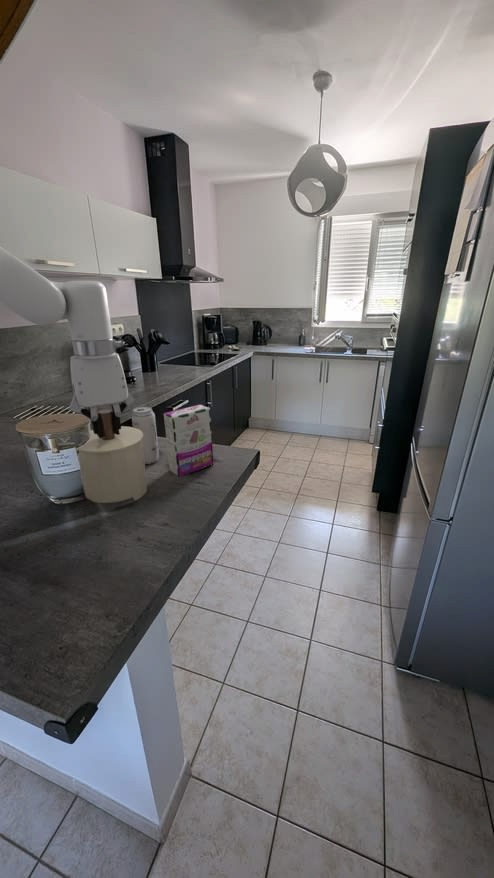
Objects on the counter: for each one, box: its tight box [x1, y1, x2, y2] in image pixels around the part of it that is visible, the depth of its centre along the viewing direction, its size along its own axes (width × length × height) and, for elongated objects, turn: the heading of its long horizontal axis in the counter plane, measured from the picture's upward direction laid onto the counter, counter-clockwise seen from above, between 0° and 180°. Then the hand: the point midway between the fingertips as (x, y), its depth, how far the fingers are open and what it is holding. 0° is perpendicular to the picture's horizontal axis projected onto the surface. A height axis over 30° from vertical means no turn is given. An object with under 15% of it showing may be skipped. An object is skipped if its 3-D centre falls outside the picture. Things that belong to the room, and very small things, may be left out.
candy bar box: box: [163, 404, 214, 477], centre depth 92 cm, size 11×5×16 cm, turn 131°
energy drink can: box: [131, 406, 160, 465], centre depth 96 cm, size 6×6×15 cm
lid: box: [76, 409, 143, 453], centre depth 77 cm, size 15×15×7 cm
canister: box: [78, 441, 148, 507], centre depth 81 cm, size 14×14×14 cm
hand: (108, 433), depth 77 cm, fingers closed on lid, 2 cm apart
